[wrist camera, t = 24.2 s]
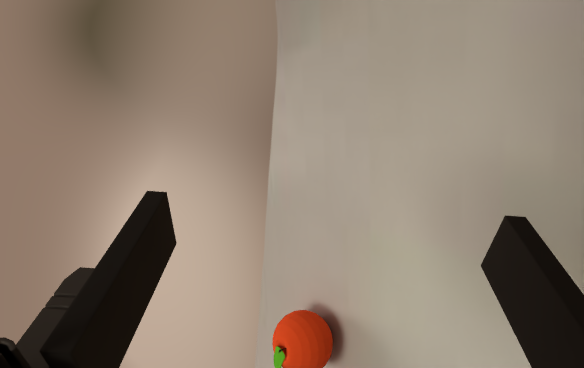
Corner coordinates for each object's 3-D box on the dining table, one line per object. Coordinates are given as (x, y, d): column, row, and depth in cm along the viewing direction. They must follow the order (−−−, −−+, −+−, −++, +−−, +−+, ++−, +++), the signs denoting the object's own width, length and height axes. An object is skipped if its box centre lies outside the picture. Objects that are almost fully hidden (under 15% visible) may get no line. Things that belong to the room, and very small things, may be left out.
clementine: (331, 383, 43) (287, 408, 38) (294, 343, 47) (251, 361, 42) (353, 329, 40) (308, 348, 36) (312, 292, 45) (268, 305, 40)
